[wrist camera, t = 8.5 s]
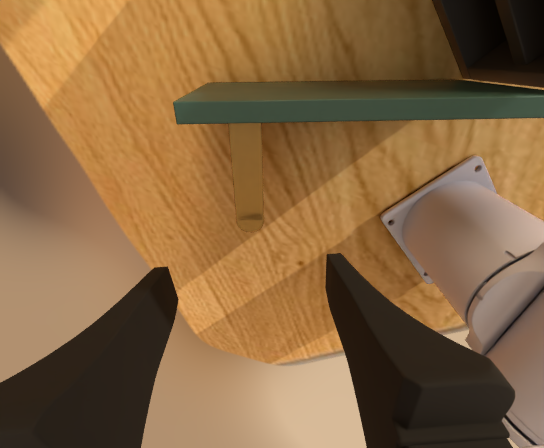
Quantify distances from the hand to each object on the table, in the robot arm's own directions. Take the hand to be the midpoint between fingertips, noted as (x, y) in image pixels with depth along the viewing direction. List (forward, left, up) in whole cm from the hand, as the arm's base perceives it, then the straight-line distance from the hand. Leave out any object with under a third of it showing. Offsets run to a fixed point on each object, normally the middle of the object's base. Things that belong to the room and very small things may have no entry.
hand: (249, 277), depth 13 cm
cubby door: (0, -7, -10) cm, 12 cm away
